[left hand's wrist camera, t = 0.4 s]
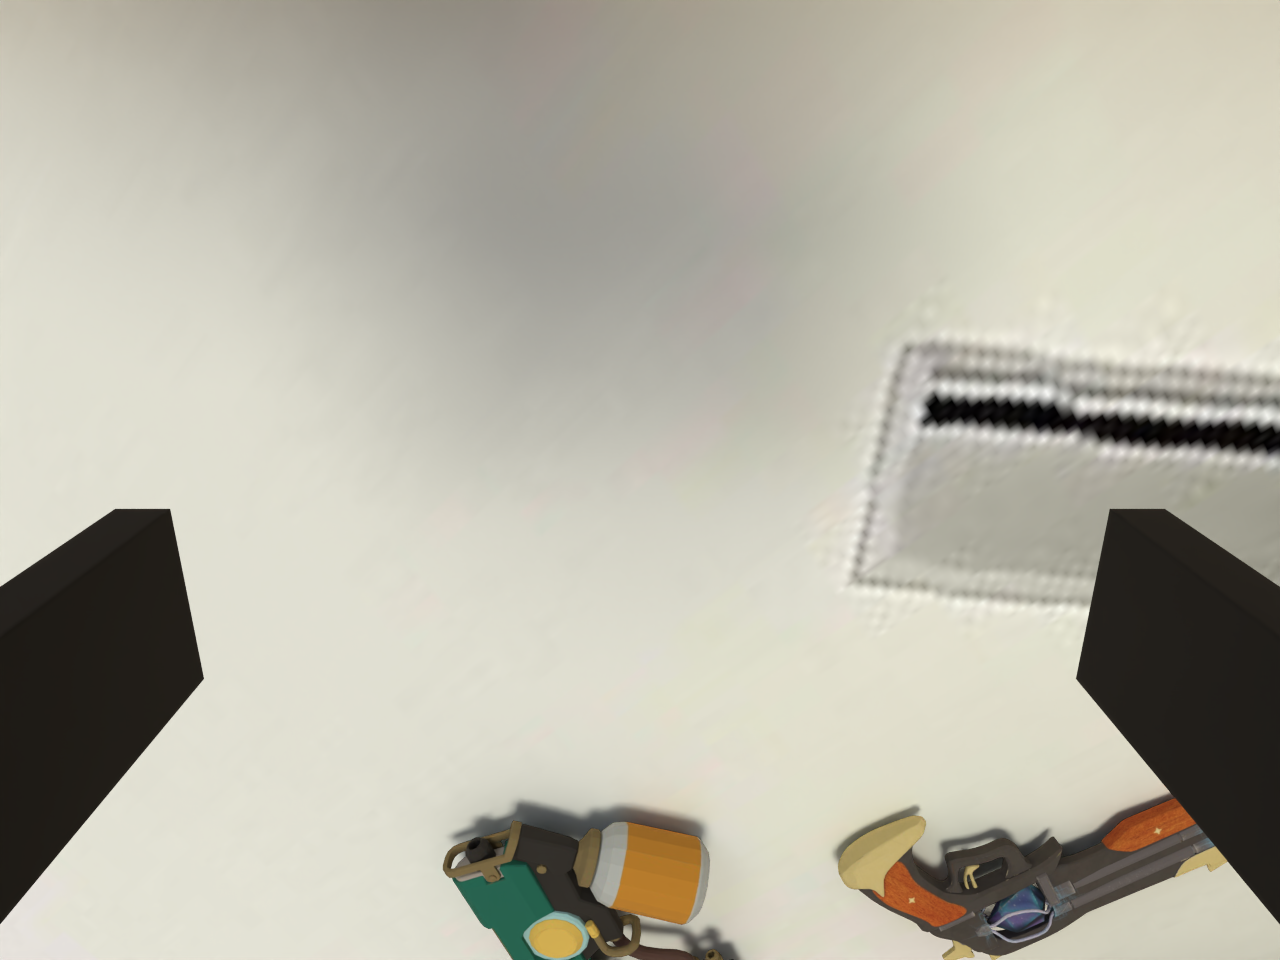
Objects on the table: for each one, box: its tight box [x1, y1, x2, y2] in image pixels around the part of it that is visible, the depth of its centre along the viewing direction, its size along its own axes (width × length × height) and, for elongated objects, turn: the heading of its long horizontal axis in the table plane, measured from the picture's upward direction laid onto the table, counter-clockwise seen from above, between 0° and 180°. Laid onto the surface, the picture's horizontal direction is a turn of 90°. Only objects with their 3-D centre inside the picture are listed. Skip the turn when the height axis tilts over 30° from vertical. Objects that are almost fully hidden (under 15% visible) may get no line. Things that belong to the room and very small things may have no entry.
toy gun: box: [838, 798, 1228, 960], centre depth 47 cm, size 3×19×10 cm
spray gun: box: [443, 821, 733, 960], centre depth 48 cm, size 4×17×15 cm
